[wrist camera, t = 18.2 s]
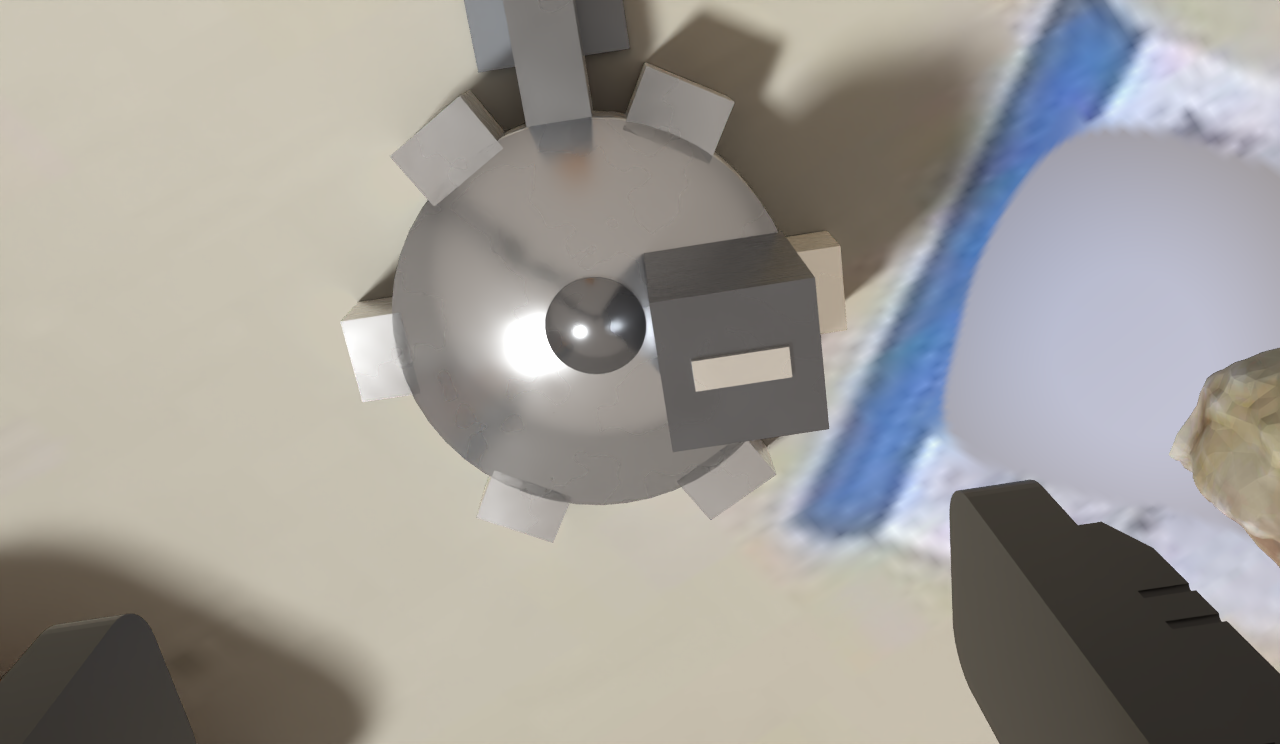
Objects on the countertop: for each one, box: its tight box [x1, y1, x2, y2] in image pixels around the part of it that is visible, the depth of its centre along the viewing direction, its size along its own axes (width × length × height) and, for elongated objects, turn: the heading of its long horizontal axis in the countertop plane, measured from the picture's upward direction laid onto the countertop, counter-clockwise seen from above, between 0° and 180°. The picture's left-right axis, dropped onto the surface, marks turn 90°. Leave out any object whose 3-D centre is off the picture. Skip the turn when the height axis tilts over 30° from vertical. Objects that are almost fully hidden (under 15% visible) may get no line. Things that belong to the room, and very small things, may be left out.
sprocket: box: [340, 62, 847, 543], centre depth 30 cm, size 15×14×2 cm
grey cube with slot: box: [644, 232, 829, 452], centre depth 26 cm, size 4×4×5 cm
